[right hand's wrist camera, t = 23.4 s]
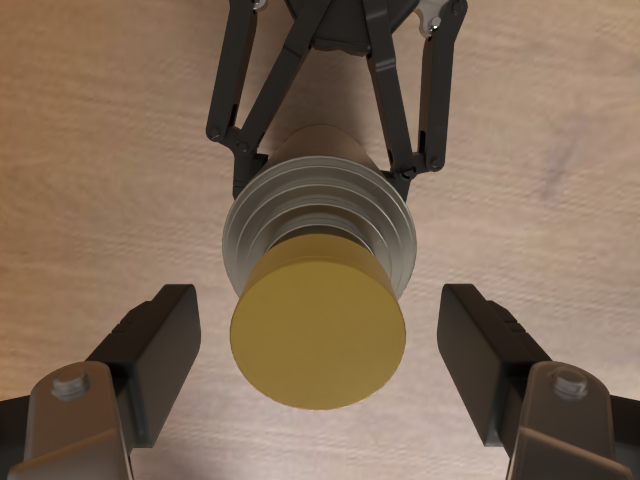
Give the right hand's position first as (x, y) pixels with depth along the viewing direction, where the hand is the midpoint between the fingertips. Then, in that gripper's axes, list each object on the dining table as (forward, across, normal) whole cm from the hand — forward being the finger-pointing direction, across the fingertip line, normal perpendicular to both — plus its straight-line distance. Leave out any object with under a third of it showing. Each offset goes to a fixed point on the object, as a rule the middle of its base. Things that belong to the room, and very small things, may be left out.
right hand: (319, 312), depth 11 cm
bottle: (+22, 0, 0) cm, 22 cm away
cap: (-1, 0, 0) cm, 1 cm away
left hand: (+16, -1, -5) cm, 17 cm away
